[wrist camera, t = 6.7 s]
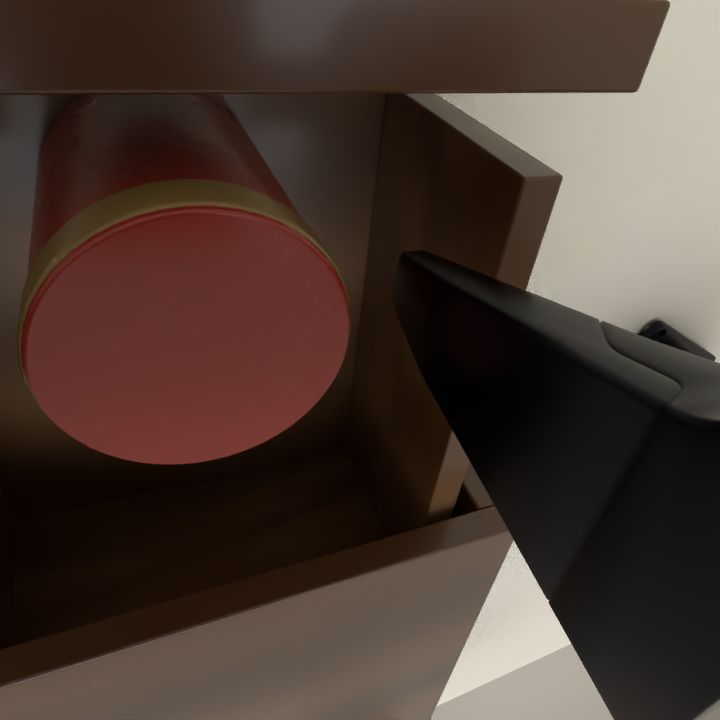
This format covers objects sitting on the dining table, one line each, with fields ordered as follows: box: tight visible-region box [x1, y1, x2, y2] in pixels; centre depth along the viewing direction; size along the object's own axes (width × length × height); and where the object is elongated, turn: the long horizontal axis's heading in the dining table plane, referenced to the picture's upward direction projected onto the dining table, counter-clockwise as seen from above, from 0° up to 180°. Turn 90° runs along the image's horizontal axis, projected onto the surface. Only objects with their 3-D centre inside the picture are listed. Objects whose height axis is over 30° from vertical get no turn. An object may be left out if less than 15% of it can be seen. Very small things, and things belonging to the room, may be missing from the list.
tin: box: [17, 94, 351, 465], centre depth 10 cm, size 5×5×6 cm
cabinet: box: [0, 461, 514, 720], centre depth 20 cm, size 17×15×9 cm
